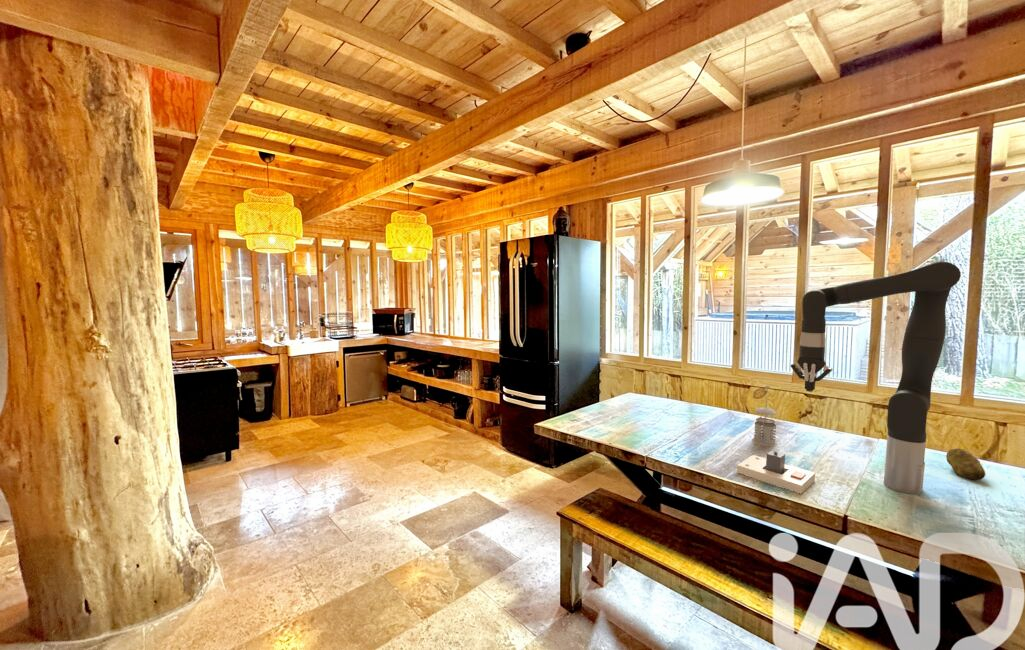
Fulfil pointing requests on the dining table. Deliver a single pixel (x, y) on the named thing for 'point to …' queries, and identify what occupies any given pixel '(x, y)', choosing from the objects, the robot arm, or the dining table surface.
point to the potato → (965, 464)
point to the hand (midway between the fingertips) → (809, 391)
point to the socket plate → (790, 479)
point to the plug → (775, 462)
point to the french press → (765, 427)
